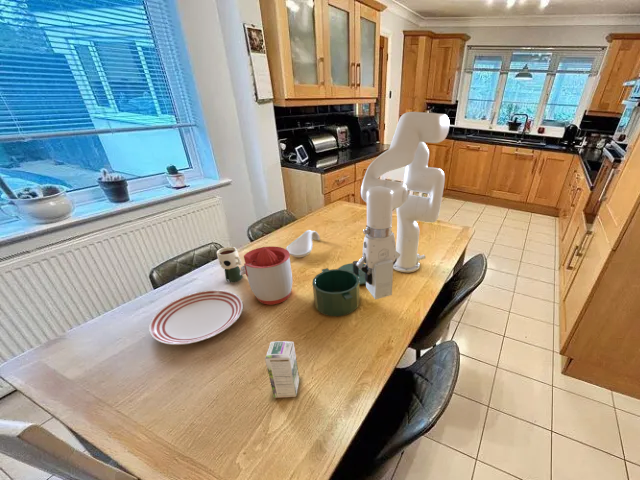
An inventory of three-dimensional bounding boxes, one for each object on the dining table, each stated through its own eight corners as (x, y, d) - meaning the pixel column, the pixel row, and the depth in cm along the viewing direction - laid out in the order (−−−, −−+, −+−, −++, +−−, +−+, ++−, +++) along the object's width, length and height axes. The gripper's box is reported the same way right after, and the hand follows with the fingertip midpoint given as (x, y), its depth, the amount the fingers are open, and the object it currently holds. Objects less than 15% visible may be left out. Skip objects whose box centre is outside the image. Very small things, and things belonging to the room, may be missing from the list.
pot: (345, 282, 124) (344, 262, 119) (370, 311, 109) (370, 289, 104) (306, 293, 117) (303, 272, 112) (328, 326, 102) (326, 303, 96)
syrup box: (278, 380, 83) (268, 341, 75) (300, 379, 83) (293, 340, 75) (273, 398, 78) (263, 358, 70) (297, 397, 78) (289, 357, 70)
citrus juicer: (246, 289, 118) (234, 242, 107) (292, 281, 123) (285, 236, 112) (247, 313, 106) (233, 263, 95) (298, 303, 112) (291, 255, 100)
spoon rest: (306, 262, 137) (304, 248, 133) (282, 259, 139) (280, 244, 135) (326, 240, 157) (325, 227, 153) (304, 238, 158) (303, 225, 154)
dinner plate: (198, 361, 87) (195, 352, 86) (130, 336, 95) (126, 328, 93) (262, 307, 109) (260, 299, 107) (202, 290, 116) (200, 283, 115)
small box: (392, 295, 103) (394, 261, 95) (375, 300, 100) (375, 266, 93) (381, 283, 109) (382, 250, 101) (365, 287, 106) (365, 254, 99)
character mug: (217, 281, 122) (208, 252, 115) (230, 272, 128) (222, 244, 121) (239, 286, 119) (231, 257, 112) (251, 278, 125) (244, 249, 118)
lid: (364, 262, 139) (364, 249, 136) (384, 279, 127) (384, 266, 124) (329, 270, 132) (328, 258, 128) (346, 290, 120) (345, 277, 116)
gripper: (359, 241, 85) (360, 292, 96) (410, 229, 93) (406, 278, 103) (347, 231, 91) (350, 281, 101) (396, 220, 98) (394, 268, 108)
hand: (378, 279), depth 102 cm, fingers closed on small box, 6 cm apart
